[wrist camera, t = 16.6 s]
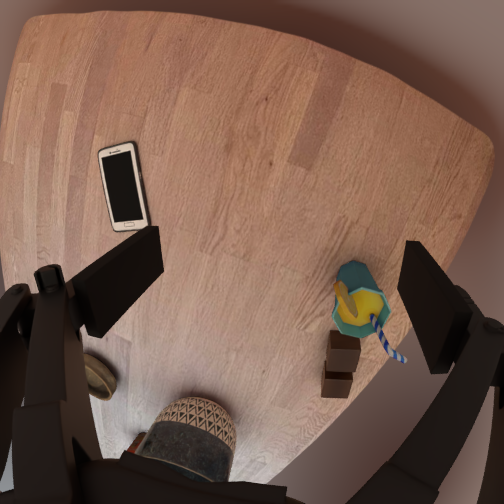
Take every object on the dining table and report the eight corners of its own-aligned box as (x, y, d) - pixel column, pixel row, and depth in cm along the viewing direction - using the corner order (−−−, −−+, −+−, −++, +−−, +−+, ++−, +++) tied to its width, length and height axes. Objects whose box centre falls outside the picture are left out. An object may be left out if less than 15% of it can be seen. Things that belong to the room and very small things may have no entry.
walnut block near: (358, 331, 49) (361, 350, 45) (353, 353, 51) (355, 372, 47) (330, 330, 50) (330, 348, 46) (326, 352, 52) (326, 371, 48)
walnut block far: (351, 361, 52) (353, 380, 48) (346, 379, 54) (347, 398, 50) (324, 360, 53) (324, 379, 48) (321, 378, 55) (320, 397, 50)
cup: (403, 287, 45) (429, 346, 31) (370, 319, 48) (383, 383, 34) (341, 233, 44) (352, 282, 30) (307, 270, 47) (303, 329, 33)
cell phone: (116, 231, 51) (113, 233, 50) (99, 149, 45) (96, 150, 44) (152, 227, 49) (149, 229, 48) (136, 139, 44) (133, 140, 43)
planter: (180, 365, 60) (137, 444, 41) (262, 405, 61) (241, 489, 41) (159, 406, 69) (124, 471, 49) (227, 439, 69) (205, 507, 50)
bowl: (132, 389, 68) (114, 416, 59) (86, 382, 73) (68, 405, 64) (108, 347, 64) (85, 374, 54) (63, 344, 68) (42, 366, 59)
